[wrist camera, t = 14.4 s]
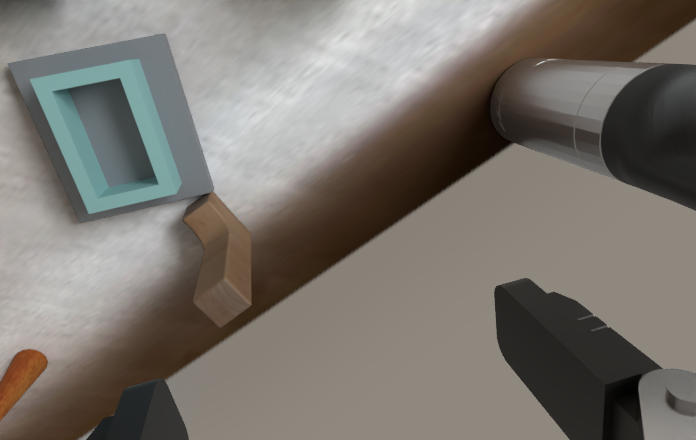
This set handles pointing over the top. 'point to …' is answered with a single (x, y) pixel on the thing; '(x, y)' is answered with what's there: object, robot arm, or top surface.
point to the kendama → (20, 377)
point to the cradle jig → (115, 126)
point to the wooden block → (221, 260)
